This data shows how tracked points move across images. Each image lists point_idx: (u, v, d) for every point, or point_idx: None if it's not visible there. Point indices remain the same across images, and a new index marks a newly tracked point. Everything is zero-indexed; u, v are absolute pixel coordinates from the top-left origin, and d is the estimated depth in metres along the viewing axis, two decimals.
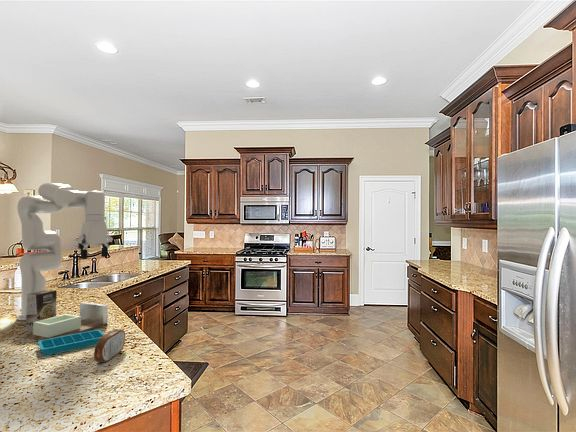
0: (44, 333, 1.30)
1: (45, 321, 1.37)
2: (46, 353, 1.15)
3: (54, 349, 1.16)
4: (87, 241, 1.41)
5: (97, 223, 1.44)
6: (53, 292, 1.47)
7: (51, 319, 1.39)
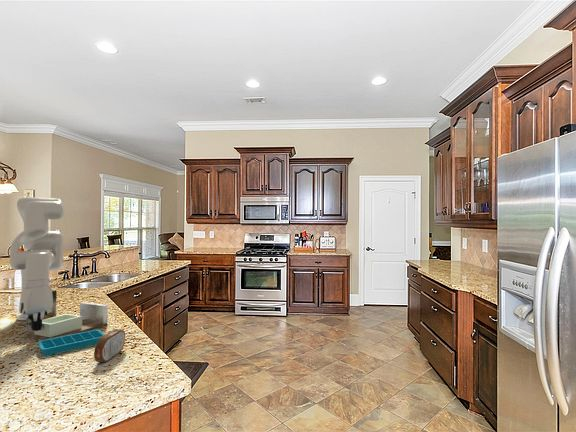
0: (45, 333, 1.31)
1: (46, 321, 1.37)
2: (47, 353, 1.15)
3: (55, 349, 1.16)
4: (26, 311, 1.25)
5: (39, 289, 1.29)
6: (53, 292, 1.47)
7: (52, 319, 1.39)
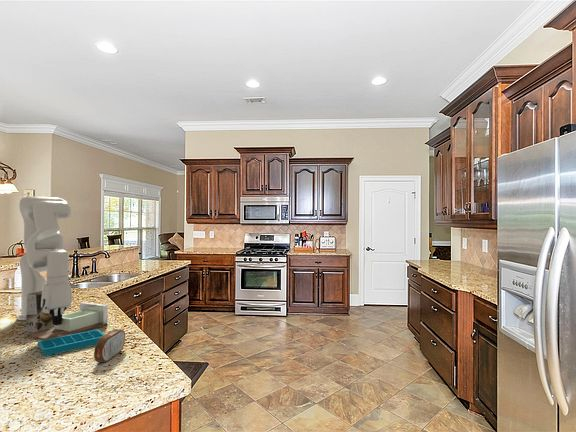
0: (65, 327, 1.38)
1: (65, 316, 1.44)
2: (47, 353, 1.15)
3: (55, 349, 1.16)
4: (47, 306, 1.32)
5: (59, 285, 1.36)
6: None
7: (70, 314, 1.46)
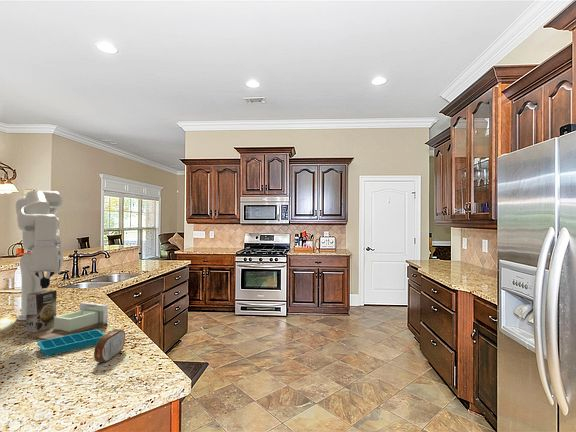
0: (65, 327, 1.38)
1: (65, 316, 1.44)
2: (48, 353, 1.15)
3: (55, 349, 1.16)
4: (30, 268, 1.35)
5: (42, 249, 1.36)
6: (53, 292, 1.47)
7: (70, 314, 1.46)
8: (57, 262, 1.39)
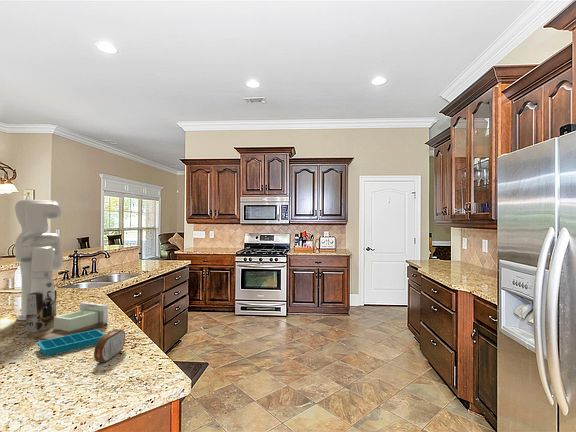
0: (65, 327, 1.38)
1: (65, 316, 1.44)
2: (48, 353, 1.14)
3: (56, 349, 1.16)
4: None
5: (35, 280, 1.43)
6: None
7: (70, 314, 1.46)
8: (43, 294, 1.41)
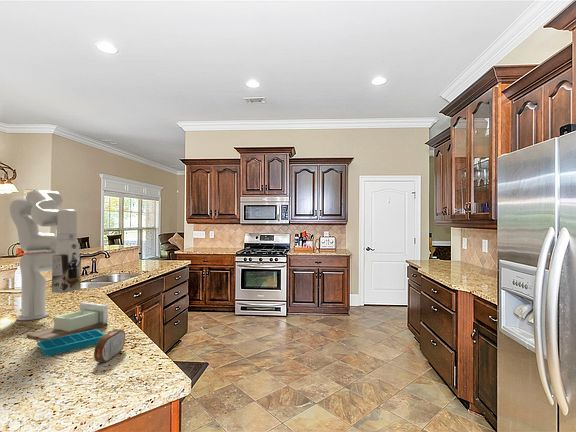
0: (65, 327, 1.38)
1: (65, 316, 1.44)
2: (48, 353, 1.14)
3: (56, 349, 1.16)
4: None
5: (60, 242, 1.43)
6: None
7: (70, 314, 1.46)
8: (69, 255, 1.42)
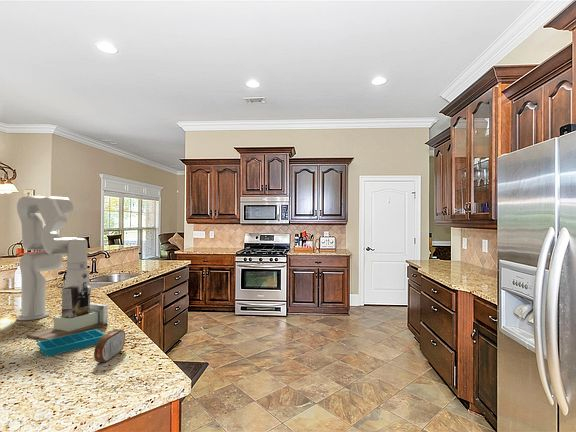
0: (64, 327, 1.38)
1: None
2: (49, 353, 1.14)
3: (57, 349, 1.16)
4: None
5: (70, 271, 1.43)
6: None
7: None
8: (79, 285, 1.41)
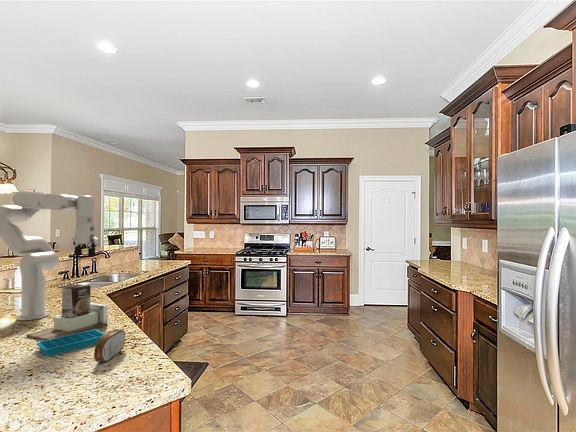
0: (64, 327, 1.38)
1: None
2: (49, 353, 1.14)
3: (57, 349, 1.16)
4: (75, 240, 1.61)
5: (79, 225, 1.59)
6: (87, 287, 1.47)
7: None
8: (87, 236, 1.58)
